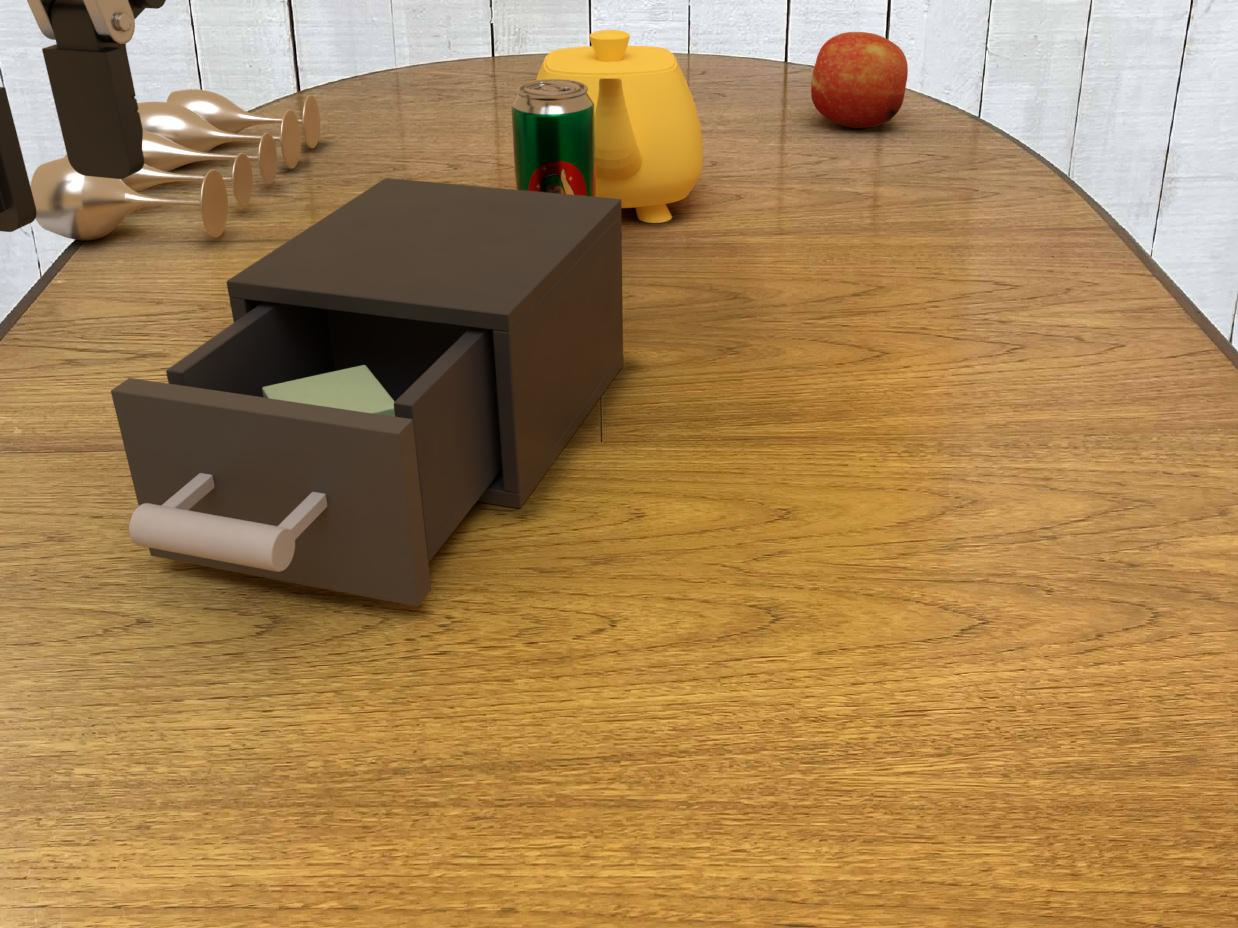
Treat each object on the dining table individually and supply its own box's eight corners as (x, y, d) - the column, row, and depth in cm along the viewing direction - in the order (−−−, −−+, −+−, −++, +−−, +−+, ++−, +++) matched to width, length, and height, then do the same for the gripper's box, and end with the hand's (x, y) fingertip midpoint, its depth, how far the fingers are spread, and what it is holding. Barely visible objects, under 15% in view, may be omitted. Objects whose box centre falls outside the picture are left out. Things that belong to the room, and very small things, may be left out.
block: (305, 528, 52) (289, 431, 50) (277, 478, 56) (261, 386, 54) (410, 500, 54) (399, 406, 52) (376, 454, 58) (365, 363, 55)
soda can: (548, 254, 85) (540, 73, 79) (612, 267, 83) (609, 82, 77) (505, 279, 81) (493, 91, 75) (570, 293, 79) (564, 101, 73)
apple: (825, 110, 116) (832, 20, 112) (915, 120, 113) (925, 27, 109) (797, 132, 110) (803, 37, 106) (891, 143, 107) (900, 46, 103)
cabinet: (520, 509, 57) (508, 314, 52) (259, 466, 61) (225, 281, 56) (623, 365, 70) (621, 198, 65) (403, 337, 74) (385, 177, 69)
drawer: (367, 675, 46) (340, 493, 42) (83, 616, 49) (33, 442, 45) (548, 436, 61) (541, 286, 57) (322, 403, 65) (301, 259, 61)
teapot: (515, 258, 85) (505, 70, 78) (527, 168, 102) (519, 8, 96) (714, 254, 85) (719, 66, 78) (692, 165, 102) (695, 5, 96)
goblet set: (323, 148, 110) (176, 142, 111) (316, 81, 107) (166, 76, 108) (206, 257, 86) (19, 249, 87) (193, 174, 83) (0, 167, 84)
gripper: (-33, -503, 34) (105, 125, 43) (-611, -621, 23) (-262, 274, 31) (204, -522, 32) (299, 141, 41) (-296, -662, 21) (-16, 307, 29)
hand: (55, 195), depth 36 cm, fingers open, 4 cm apart
